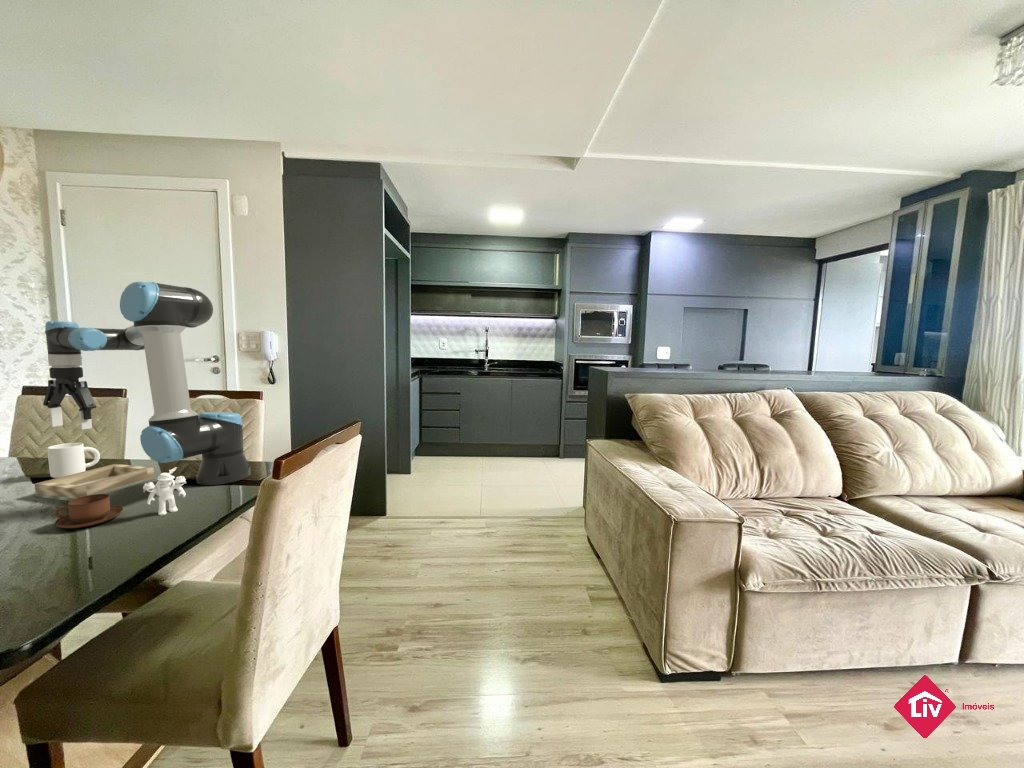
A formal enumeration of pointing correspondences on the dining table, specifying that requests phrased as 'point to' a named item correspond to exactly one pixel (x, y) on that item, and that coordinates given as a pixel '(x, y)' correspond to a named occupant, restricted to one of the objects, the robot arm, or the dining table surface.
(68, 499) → the board
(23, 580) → the dining table surface
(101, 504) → the cup and saucer
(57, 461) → the mug
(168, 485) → the white toy figurine
